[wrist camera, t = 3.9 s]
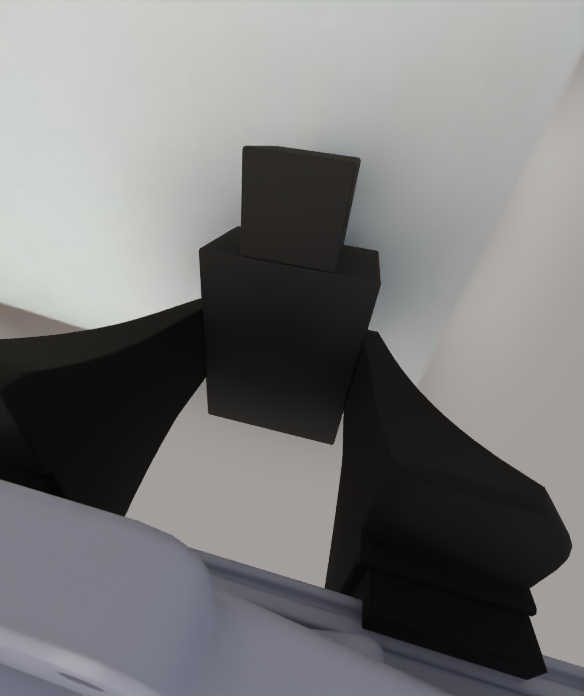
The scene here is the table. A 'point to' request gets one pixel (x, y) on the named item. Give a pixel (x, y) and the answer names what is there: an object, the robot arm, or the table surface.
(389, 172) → the table surface
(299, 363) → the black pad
